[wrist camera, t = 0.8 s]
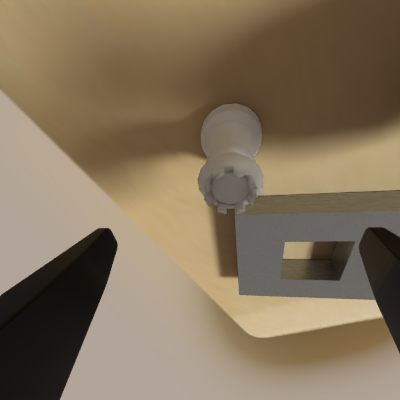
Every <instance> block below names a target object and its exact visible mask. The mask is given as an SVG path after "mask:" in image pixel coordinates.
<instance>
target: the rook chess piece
mask: <svg viewBox="0 0 400 400" xmlns="http://www.w3.org/2000/svg"><path fill="white" fill-rule="evenodd" d="M200 138H201V145H202V149H203V151H204V153H205V154H206V156H207V161H206V164H205V165H204V166H203V167H202V168H201V170H200V173H199V177H198V184H199V190H200V191H201V193H202V194H203V196H204V197H205V199H204V200H205V201H206V203H207V204H208V206H209V207H210V206H211V205H213V204H214V205H216V206H217V212H219V213H223V214H226V213H227V209H235V212H236V214H239V213H242V212H244V211H245V205H247V204H251V205H253V204H254V202H255V200H256V199H257V197H258V195H259V193H260V192H261V190H262V188H263V174H262V171H261V169H260V167H259V165H258V164H257V163H256V161H255V159H254V157H255V156H256V154H257V152H258V150H259V148H260V146H261V143H262V126H261V124H260V121H259V119H258V116H257V115H256V114H255V113H254V112H253V111H252V110H251V109H249V108H248V107H246V106H243V105H240V104H237V103H233V104H224V105H221V106H220V107H218V108H216V109H214V110H212V111H211V112H210V114H209V115H208V116H207V117H206V119H205V120H204V122H203V126H202V130H201V136H200Z"/></svg>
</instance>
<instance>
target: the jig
mask: <svg viewBox="0 0 400 400" xmlns="http://www.w3.org/2000/svg"><path fill="white" fill-rule="evenodd" d="M368 227H383V228H386V229H387V230H389V231H391V232H392V233H394V234H396V235H397V236H399V237H400V191H376V192H352V193H327V194H303V195H278V196H258V197H257V199H256V200H255V202H254V204H253V205H251V204H247V205H245V211H244V212H242V213H239V214H236V212H235V230H236V248H237V265H238V282H239V295H256V296H283V297H311V298H339V299H366V300H375V297H374V295H373V292H372V289H371V286H370V283H369V280H368V277H367V274H366V271H365V268H364V265H363V261H362V258H361V255H360V252H359V243H360V241H361V239H362V236H363V234H364V232H365V230H366V229H367V228H368ZM313 241H337V243H336V246H335V249H334V252H333V255H332V258H331V260H282V259H283V252H284V244H285V242H313Z"/></svg>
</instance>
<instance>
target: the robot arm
mask: <svg viewBox="0 0 400 400" xmlns="http://www.w3.org/2000/svg"><path fill="white" fill-rule="evenodd" d="M117 246H118V245H117V241H116V239H115V237H114V235H113V233H112V231H111V230H110V229H109V228H99V229H97V230H95V231H94V232H92V233H91V234H89V235H88V236H87V237H85V238H84V239H82V240H81V241H79V242H78V243H76V244H75V245H73V246H72V247H70V248H69V249H68V250H66V251H65V252H63V253H62V254H60V255H59V256H58V257H56V258H54V259H53V260H52V261H50V262H49V263H47V264H46V265H44V266H43V267H42V268H40V269H38V270H37V271H35V272H34V273H33V274H31V275H30V276H28V277H27V278H25V279H24V280H22V281H21V282H19V283H18V284H16V285H15V286H14V287H12V288H11V289H9V290H8V291H6V292H5V293H3V294H2V295H1V296H0V400H60V398H61V395H62V393H63V391H64V388H65V386H66V383H67V381H68V378H69V376H70V373H71V371H72V368H73V366H74V363H75V361H76V358H77V356H78V353H79V351H80V349H81V346H82V344H83V341H84V339H85V336H86V334H87V331H88V329H89V326H90V324H91V322H92V319H93V317H94V314H95V312H96V309H97V307H98V304H99V302H100V299H101V297H102V294H103V292H104V289H105V287H106V284H107V281H108V278H109V275H110V271H111V268H112V264H113V261H114V257H115V254H116V251H117ZM359 252H360V255H361V258H362V261H363V265H364V268H365V271H366V274H367V277H368V280H369V283H370V286H371V289H372V292H373V295H374V297H375V300H376V302H377V304H378V307H379V309H380V311H381V313H382V315H383V318H384V319H385V322H386V324H387V326H388V328H389V331H390V333H391V335H392V337H393V339H394V342H395V344H396V346H397V348H398V350H399V353H400V237H399V236H397V235H396V234H394V233H392V232H391V231H389V230H387V229H386V228H383V227H368V228H367V229H366V230H365V232H364V234H363V236H362V239H361V241H360V243H359Z"/></svg>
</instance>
